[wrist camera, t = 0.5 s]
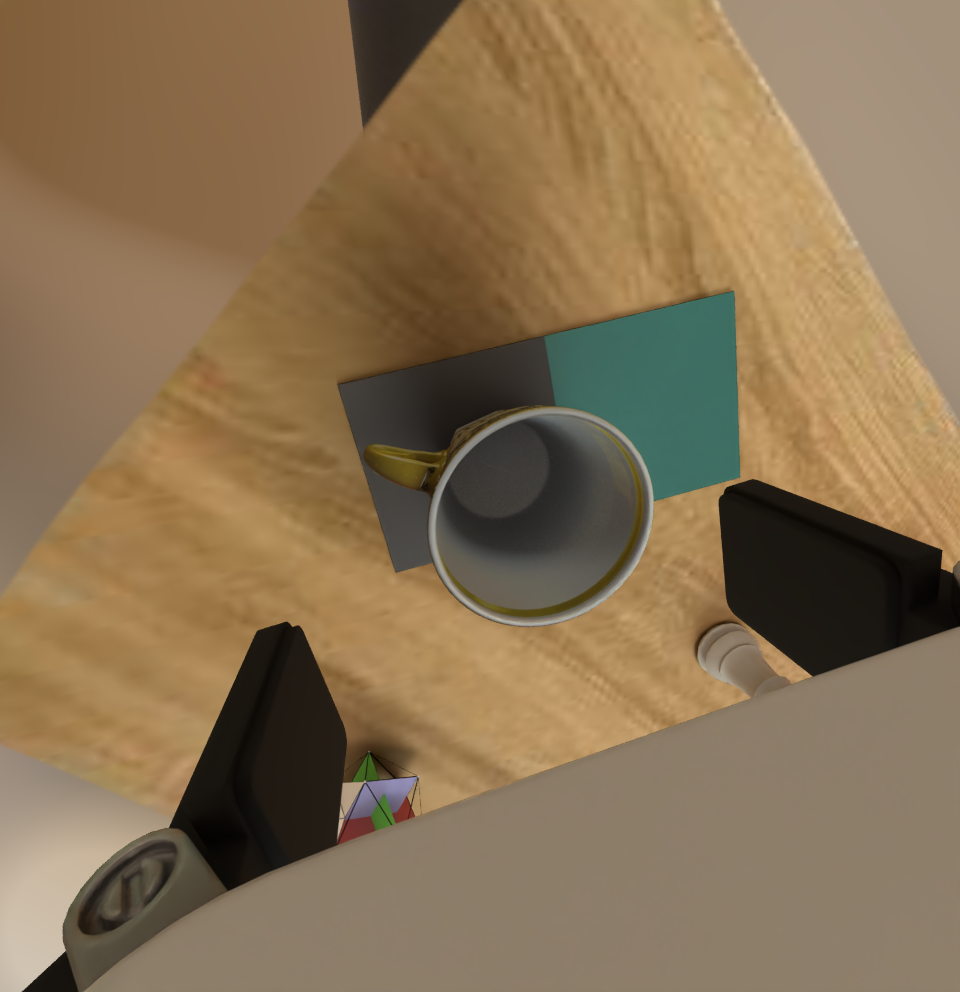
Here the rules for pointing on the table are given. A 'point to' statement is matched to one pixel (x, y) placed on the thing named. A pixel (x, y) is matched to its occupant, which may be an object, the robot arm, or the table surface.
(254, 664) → the robot arm
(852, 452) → the table surface
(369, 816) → the geometric puzzle
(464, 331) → the table surface
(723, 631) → the rook chess piece
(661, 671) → the table surface
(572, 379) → the plate
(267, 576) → the table surface
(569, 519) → the ceramic cup
